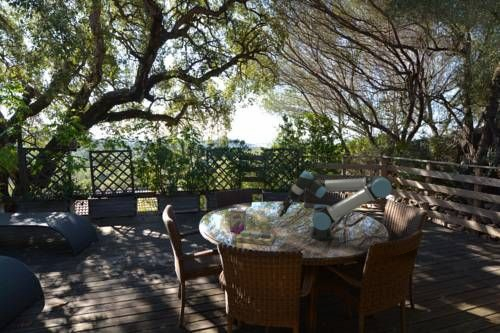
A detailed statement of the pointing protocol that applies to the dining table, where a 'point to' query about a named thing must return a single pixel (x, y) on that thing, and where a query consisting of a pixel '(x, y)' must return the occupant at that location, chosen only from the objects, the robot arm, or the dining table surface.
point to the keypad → (255, 239)
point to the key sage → (246, 233)
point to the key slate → (255, 234)
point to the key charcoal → (266, 235)
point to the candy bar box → (237, 220)
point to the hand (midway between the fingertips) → (277, 216)
